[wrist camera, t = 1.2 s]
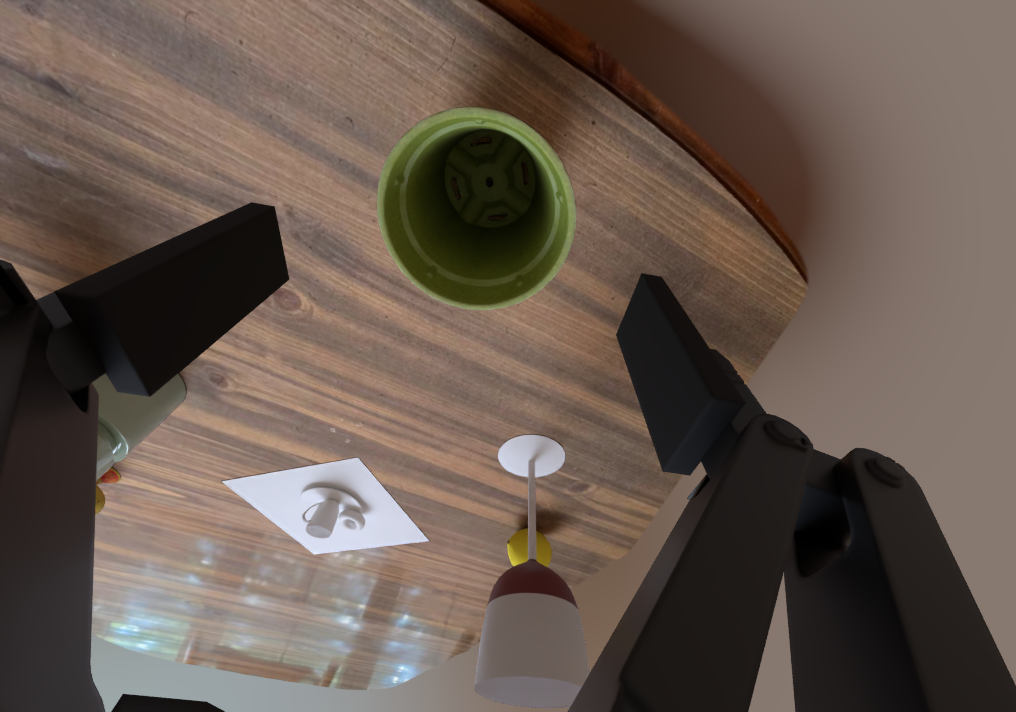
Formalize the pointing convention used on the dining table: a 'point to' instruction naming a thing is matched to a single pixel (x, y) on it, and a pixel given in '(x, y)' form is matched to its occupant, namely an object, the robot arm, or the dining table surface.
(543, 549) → the lemon
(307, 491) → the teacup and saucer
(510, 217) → the plant pot
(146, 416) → the cup stack
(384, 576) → the dining table surface
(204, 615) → the dining table surface
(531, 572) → the wineglass
